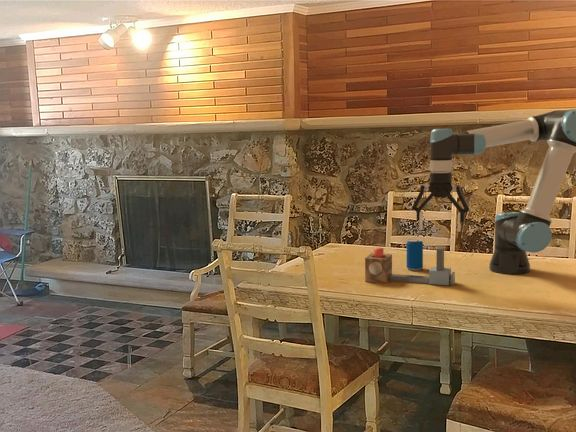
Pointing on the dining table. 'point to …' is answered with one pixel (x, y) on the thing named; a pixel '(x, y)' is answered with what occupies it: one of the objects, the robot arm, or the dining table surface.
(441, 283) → the carriage
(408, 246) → the beverage can
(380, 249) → the gauge button
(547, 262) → the dining table surface
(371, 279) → the brown button box
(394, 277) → the rail
